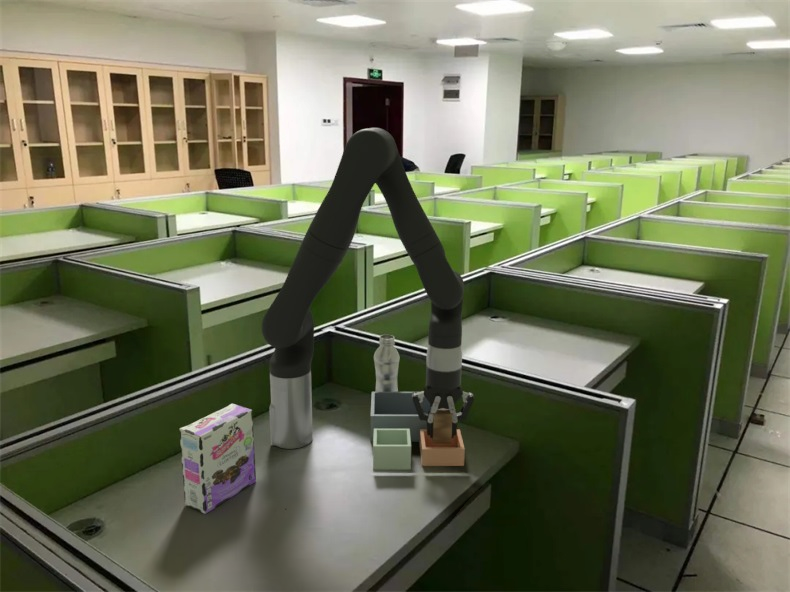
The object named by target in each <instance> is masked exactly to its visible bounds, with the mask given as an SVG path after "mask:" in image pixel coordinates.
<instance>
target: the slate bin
mask: <svg viewBox="0 0 790 592" xmlns="http://www.w3.org/2000/svg"><path fill="white" fill-rule="evenodd" d="M413 392H414V391H398V392H375V391H371V398H370V400H371V401H370V442H373V436H374V429H410V438H411V443H412V442H417V443H418V442H419V443H420V429H427V422H426V421H425V420H420V419H419V416H418V413H417V410H416V408H415V405H414V402H413V399H412V393H413ZM416 392H417V393H418V392H419V391H416ZM421 405H422V408H423V410H424V412H425V413H428V410H429V405H430V403H429V401H428V400H427V399H426V397H425V396H424V397H423V402H421Z"/></svg>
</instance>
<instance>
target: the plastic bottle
mask: <svg viewBox="0 0 790 592" xmlns="http://www.w3.org/2000/svg"><path fill="white" fill-rule="evenodd" d="M378 342H379V343H378V344H379V346H378V347H377V349H376V350H375V351H374V355H373V361H374V362H373V363H374V368H375V380H376V381H375V391H374V392H399V389H398V388H399V386H398V376H399V375H398V373H399V364H400V357H401V356H400V354H399V353H400V352H398V350H397V349H396V347H395V345H396V342H395V336H394V335H392V334H381V335H380V336H379V340H378Z"/></svg>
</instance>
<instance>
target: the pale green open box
mask: <svg viewBox="0 0 790 592" xmlns="http://www.w3.org/2000/svg"><path fill="white" fill-rule="evenodd" d="M372 445H373V446H372V470H411V469H412V465H411V464H412V442H411V438H410V429H374V436H373V441H372Z"/></svg>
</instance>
